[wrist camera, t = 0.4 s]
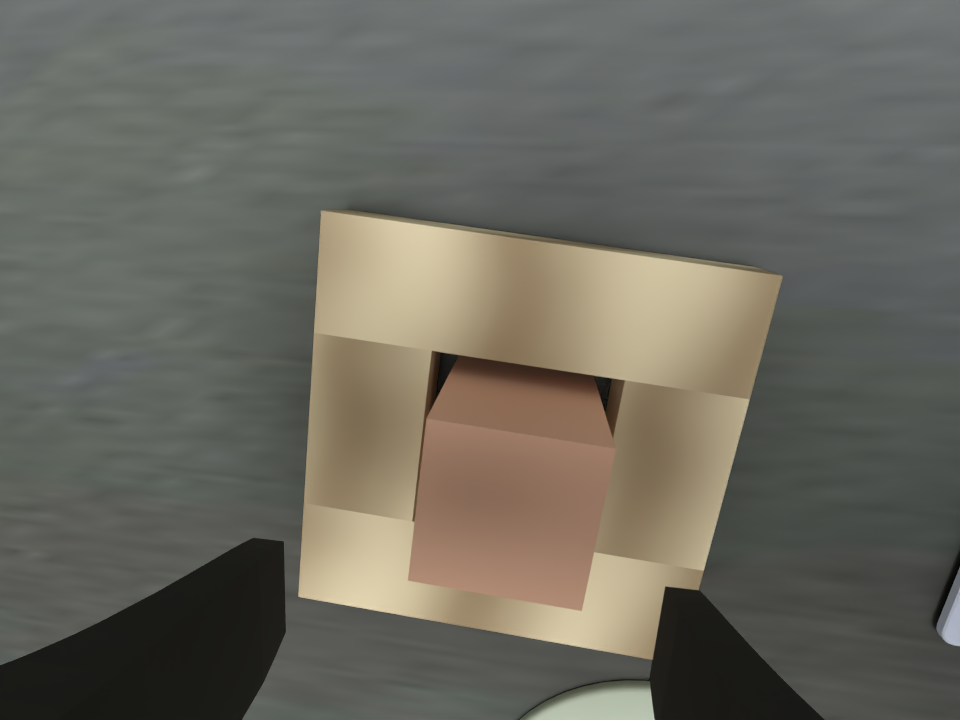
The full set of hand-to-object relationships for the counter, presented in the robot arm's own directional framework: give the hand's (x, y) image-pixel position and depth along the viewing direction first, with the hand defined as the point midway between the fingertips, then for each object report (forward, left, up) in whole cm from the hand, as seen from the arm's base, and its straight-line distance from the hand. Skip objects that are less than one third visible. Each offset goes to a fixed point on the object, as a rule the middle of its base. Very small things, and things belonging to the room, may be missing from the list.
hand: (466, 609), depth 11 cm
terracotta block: (-1, 0, -9) cm, 9 cm away
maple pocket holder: (-1, 0, -9) cm, 9 cm away
